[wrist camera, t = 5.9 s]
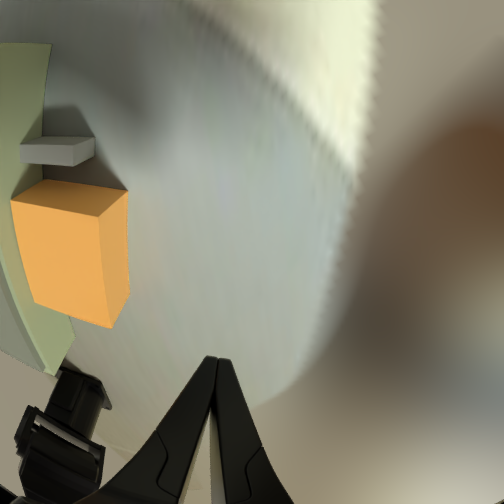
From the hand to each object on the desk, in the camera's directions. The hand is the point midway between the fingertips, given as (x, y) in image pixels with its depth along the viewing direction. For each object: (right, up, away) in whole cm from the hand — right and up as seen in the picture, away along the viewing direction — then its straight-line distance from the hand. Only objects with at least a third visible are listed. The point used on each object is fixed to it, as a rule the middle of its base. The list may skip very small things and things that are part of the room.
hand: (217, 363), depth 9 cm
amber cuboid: (-9, +5, +6) cm, 12 cm away
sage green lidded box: (-13, +6, +5) cm, 15 cm away
